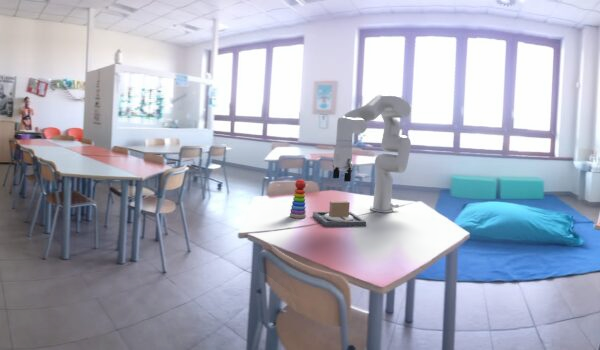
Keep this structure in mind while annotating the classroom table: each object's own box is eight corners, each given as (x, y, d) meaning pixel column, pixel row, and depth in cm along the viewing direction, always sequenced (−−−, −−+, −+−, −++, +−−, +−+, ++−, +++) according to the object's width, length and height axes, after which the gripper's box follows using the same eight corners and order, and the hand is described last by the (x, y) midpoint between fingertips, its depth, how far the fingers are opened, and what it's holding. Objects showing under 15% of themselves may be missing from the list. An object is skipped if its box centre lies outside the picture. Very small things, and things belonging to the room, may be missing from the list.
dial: (319, 215, 195) (320, 199, 194) (345, 214, 199) (347, 198, 198) (330, 222, 182) (331, 205, 181) (358, 221, 186) (359, 204, 185)
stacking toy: (294, 219, 189) (296, 180, 187) (287, 215, 196) (289, 178, 194) (308, 218, 193) (310, 180, 190) (301, 214, 200) (303, 177, 198)
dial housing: (349, 215, 203) (350, 211, 203) (366, 226, 184) (366, 221, 184) (312, 216, 198) (312, 211, 197) (325, 226, 179) (325, 221, 178)
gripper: (327, 142, 192) (325, 177, 194) (347, 145, 177) (345, 182, 179) (340, 142, 195) (338, 176, 198) (361, 145, 180) (358, 182, 182)
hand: (341, 179), depth 188 cm, fingers open, 9 cm apart
